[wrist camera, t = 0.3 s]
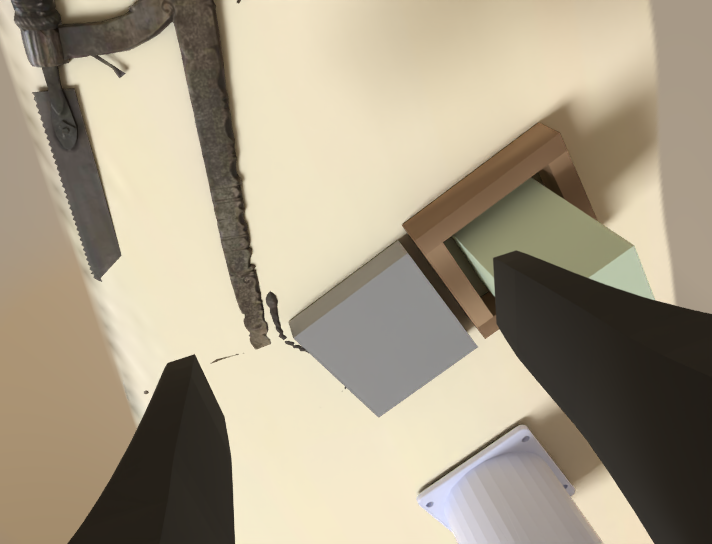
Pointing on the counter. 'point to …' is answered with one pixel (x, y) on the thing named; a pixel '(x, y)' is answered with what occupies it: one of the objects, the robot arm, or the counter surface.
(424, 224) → the socket block
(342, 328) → the rack plate
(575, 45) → the counter surface
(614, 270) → the peg
